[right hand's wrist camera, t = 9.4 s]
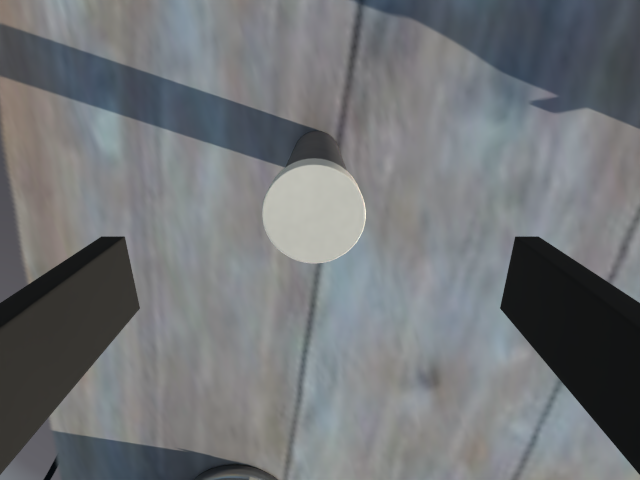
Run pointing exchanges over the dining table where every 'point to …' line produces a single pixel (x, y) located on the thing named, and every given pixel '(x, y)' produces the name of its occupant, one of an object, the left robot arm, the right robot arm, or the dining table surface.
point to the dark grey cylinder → (316, 148)
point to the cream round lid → (313, 211)
